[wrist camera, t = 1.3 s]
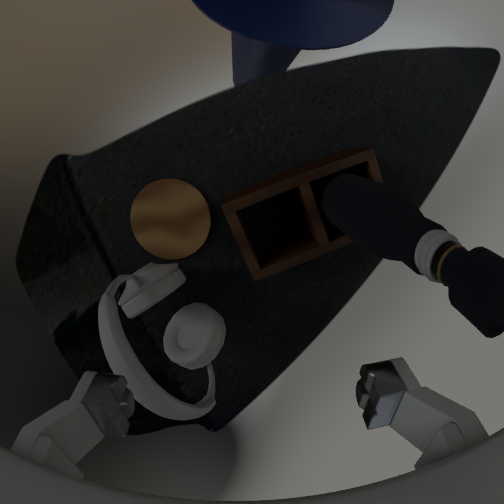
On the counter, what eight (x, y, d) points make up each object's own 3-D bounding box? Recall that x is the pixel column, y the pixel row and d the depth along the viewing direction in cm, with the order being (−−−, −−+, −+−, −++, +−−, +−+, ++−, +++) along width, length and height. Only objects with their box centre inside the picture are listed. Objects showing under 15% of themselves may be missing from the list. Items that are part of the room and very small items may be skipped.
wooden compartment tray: (223, 196, 38) (220, 206, 32) (354, 146, 36) (373, 148, 30) (252, 262, 41) (254, 282, 35) (373, 213, 39) (393, 225, 34)
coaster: (118, 200, 37) (117, 200, 36) (189, 164, 36) (189, 164, 35) (153, 269, 41) (153, 270, 40) (224, 240, 40) (224, 241, 39)
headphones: (242, 327, 45) (247, 434, 26) (195, 352, 46) (181, 455, 27) (164, 229, 39) (108, 306, 20) (118, 264, 40) (51, 349, 21)
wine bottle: (363, 192, 38) (545, 291, 10) (333, 225, 40) (480, 374, 12) (332, 159, 37) (528, 215, 8) (300, 194, 38) (446, 325, 10)
